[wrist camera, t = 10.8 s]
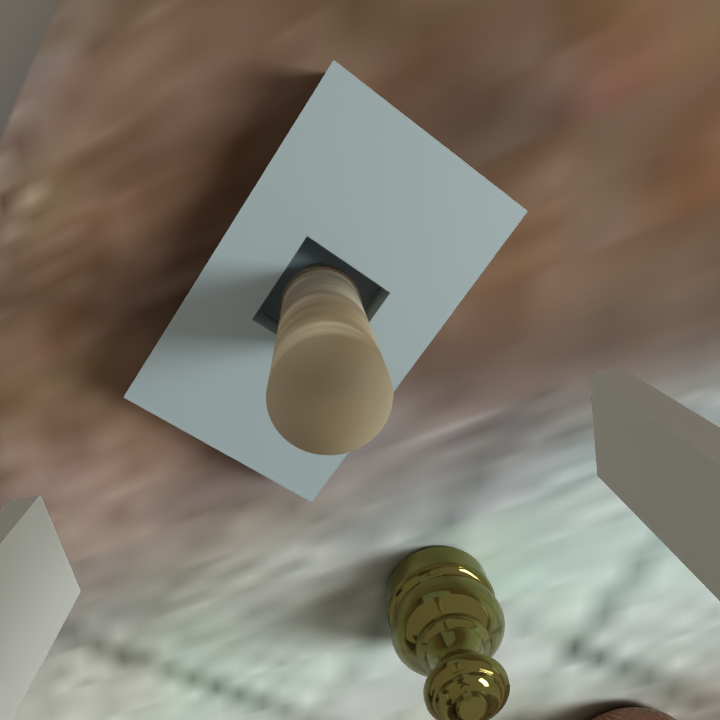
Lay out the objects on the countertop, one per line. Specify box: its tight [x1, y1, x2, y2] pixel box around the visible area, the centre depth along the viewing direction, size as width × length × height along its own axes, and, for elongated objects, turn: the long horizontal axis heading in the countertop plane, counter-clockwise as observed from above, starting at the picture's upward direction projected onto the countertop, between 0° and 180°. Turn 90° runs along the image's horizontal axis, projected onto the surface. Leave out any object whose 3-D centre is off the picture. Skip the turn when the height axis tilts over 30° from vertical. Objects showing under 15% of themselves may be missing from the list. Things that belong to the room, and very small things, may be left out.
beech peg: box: [266, 263, 393, 455], centre depth 26 cm, size 4×4×16 cm
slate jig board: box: [124, 60, 527, 502], centre depth 33 cm, size 20×12×4 cm, turn 145°
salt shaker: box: [386, 547, 510, 720], centre depth 37 cm, size 7×8×10 cm
